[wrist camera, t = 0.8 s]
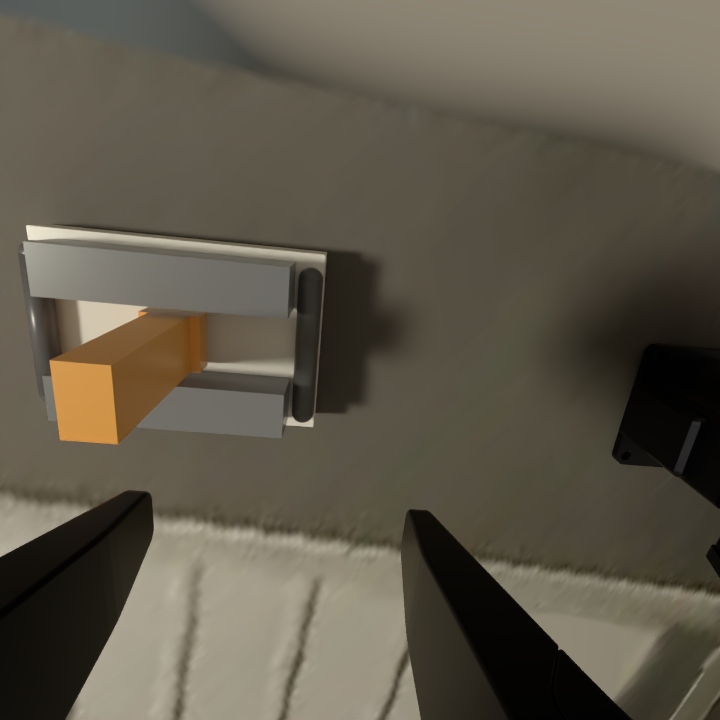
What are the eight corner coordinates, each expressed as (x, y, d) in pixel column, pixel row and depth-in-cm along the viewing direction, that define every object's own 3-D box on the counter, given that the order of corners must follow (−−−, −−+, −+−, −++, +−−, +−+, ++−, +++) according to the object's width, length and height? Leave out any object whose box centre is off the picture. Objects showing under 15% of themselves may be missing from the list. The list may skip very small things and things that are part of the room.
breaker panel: (327, 251, 19) (322, 259, 16) (315, 413, 22) (309, 448, 19) (50, 224, 19) (-14, 226, 15) (71, 394, 21) (19, 427, 18)
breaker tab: (207, 311, 18) (125, 366, 12) (207, 365, 19) (132, 445, 12) (149, 306, 18) (34, 358, 11) (152, 360, 19) (45, 438, 12)
